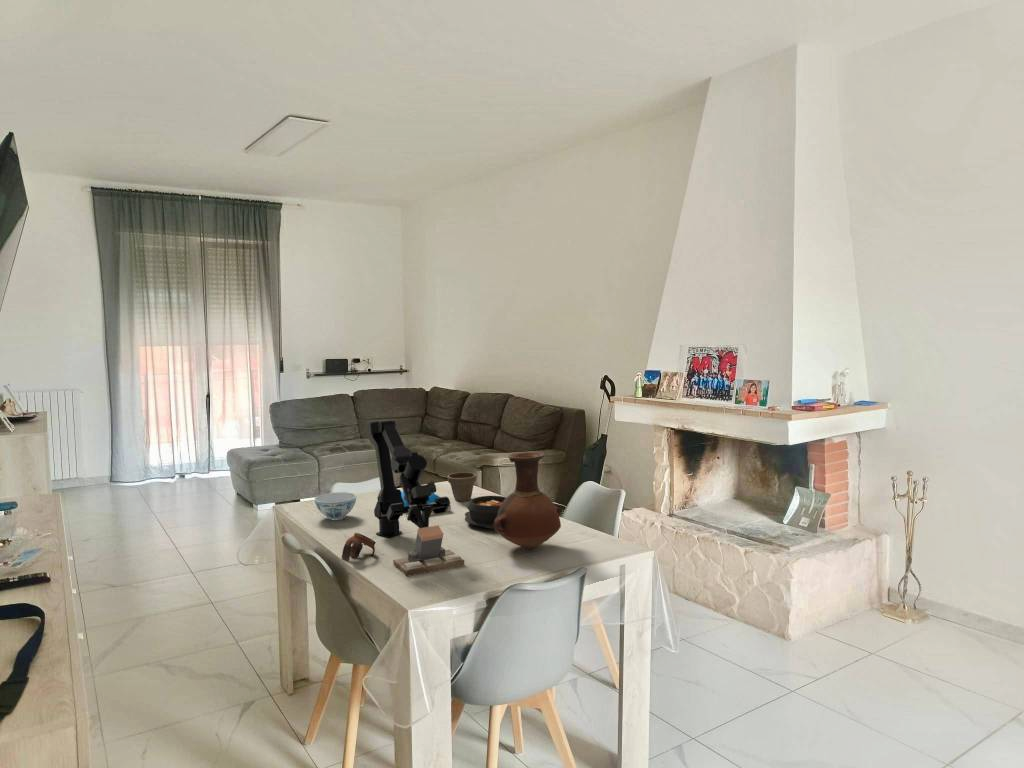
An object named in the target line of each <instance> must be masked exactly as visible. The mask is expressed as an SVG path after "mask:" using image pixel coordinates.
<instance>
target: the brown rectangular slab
mask: <svg viewBox="0 0 1024 768" xmlns="http://www.w3.org/2000/svg"><path fill="white" fill-rule="evenodd" d="M392 562H393V566H394V565H395V566H394V567H395V568H397V570H399V571H400V572H401V573H402V572H403V573H404V574H405V575H404V574H403V573H402V574H403V575H404V576H406V577H410V576H409V575H411V576H415V575H414V574H416V575H421V574H424V572H426V573H431V572H430V571H432V572H436V570H437V571H440V570H439V569H442V570H446V568H447V569H451V567H452V568H456V567H462V566H465V559H463V558H462V557H461V556H460V555H459V554H457V553H455V552H454V551H452V550H450V549H445V548H444V547H442V546H441V549H440V555H439V556H438V557H432V558H427V559H422V560H419V559H417V554H416V553H415V551H409V552H407V556H406V557H401V558H397V559H396V558H395V559H393V560H392ZM420 573H421V574H420Z"/></svg>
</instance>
